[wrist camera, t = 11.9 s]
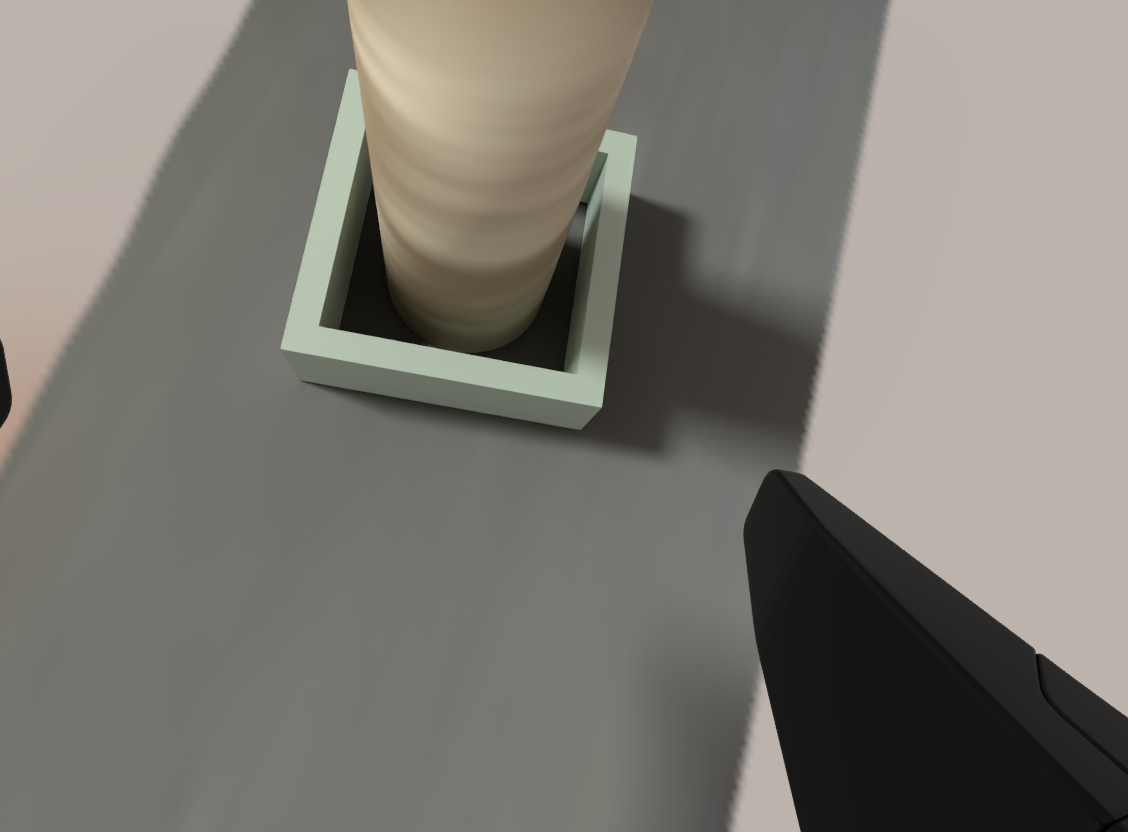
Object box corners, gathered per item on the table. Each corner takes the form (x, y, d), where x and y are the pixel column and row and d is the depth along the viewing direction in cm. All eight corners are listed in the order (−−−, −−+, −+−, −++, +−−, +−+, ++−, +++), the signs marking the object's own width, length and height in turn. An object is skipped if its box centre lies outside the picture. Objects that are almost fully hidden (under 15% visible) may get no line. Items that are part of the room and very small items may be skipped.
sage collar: (580, 430, 24) (601, 407, 21) (299, 379, 22) (280, 349, 19) (613, 187, 26) (637, 136, 23) (358, 130, 25) (349, 68, 22)
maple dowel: (571, 317, 24) (717, 19, 12) (427, 377, 23) (422, 115, 11) (504, 187, 25) (576, -224, 13) (361, 238, 24) (283, -162, 11)
